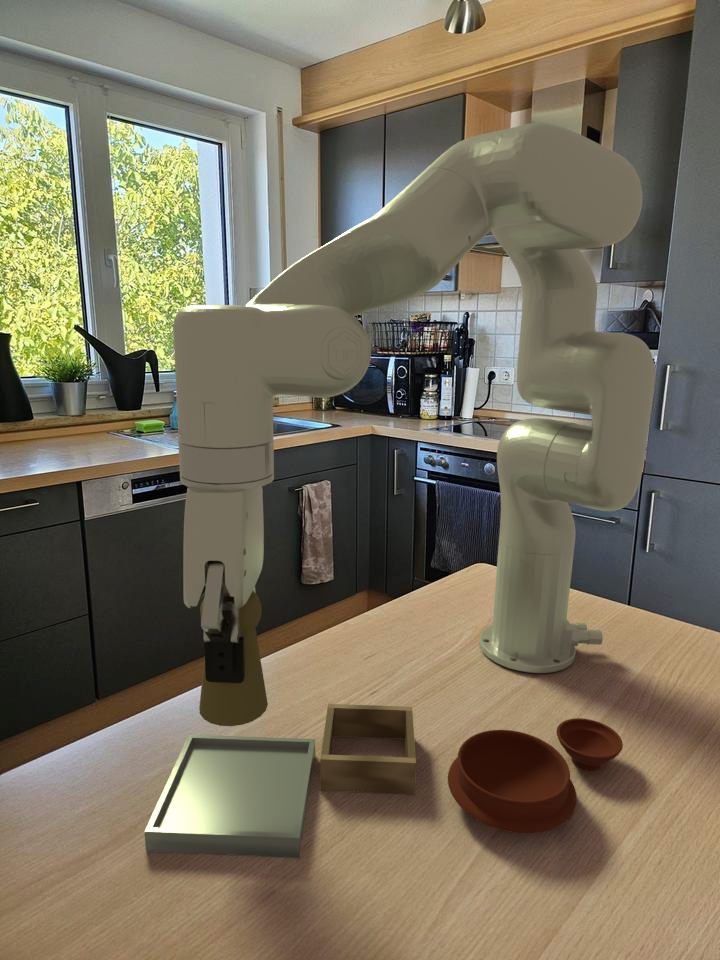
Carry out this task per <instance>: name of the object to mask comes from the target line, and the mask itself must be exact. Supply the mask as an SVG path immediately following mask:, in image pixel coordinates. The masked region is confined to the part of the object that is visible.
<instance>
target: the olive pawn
mask: <svg viewBox="0 0 720 960" xmlns="http://www.w3.org/2000/svg"><path fill="white" fill-rule="evenodd" d="M233 601H234V597H231V596H224V598H223V602H233ZM203 604H204V599H203V600H202V602H201V604H200V608H199V612H200V613H199V614H200V619H201V618H202V611H203ZM262 612H263V611H262V604H261V600H260V597H259V595H257V593H255V592H254V591H252V593H251V595H250V597H249V599H248V601H247V602H246V604H245V605H244V606H243V607H241V621H240V637H244V659H245V678H244V680H243V682H242V683H220V682H208V681H207V680H206V676H205V657H203V658H204V660H203V661H204V662H203V669H202V679H201V688H200V698H199V709H198V711H199V715H200V716H201V717H202V719H203V720H204V721H206V722H208V723H209V724H212V725H215V726H219V727H236V726H243V725H246V724H249V723H252V722H254V721H256V720H257V719H259V718H260V717H262V716H263V714H264V713H265V712H266V711H267V708H268V706H269V703H268V696H267V691H266V686H265V685H266V684H265V680H264V674H263V673H264V672H263V666H262V665H263V664H262V661H261V660H262V659H261V653H260V649H259V648H260V647H259V642H258V634H257V635H256V626H257V627H258V625H259V623H260V621H261V617H262ZM231 615H232V612H228V611H222V616H223V619H228V620H229V622H230V624H231Z"/></svg>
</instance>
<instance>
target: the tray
mask: <svg viewBox="0 0 720 960" xmlns="http://www.w3.org/2000/svg"><path fill="white" fill-rule="evenodd" d="M315 759H316V739H315V738H296V737H295V738H292V737H291V738H290V737H271V736H270V737H267V736H265V737H263V736H245V735H244V736H239V735H238V736H237V735H215V734H213V735H212V734H188V735H187V738H186V740H185V742H184V744H183V746H182V749H181V751H180V753H179V755H178V757H177V759H176V762H175V764H174V765H173V768H172V771H171V773H170V775H169V777H168V780H167V782H166V784H165V785H164V788H163V790H162V792H161V795H160V797H159V799H158V801H157V803H156V805H155V807H154V810H153V811H152V814H151V816H150V819H149V820H148V823H147V825H146V827H145V829H144V845H145V852H151V853H152V852H157V853H177V854H179V853H180V854H196V855H197V854H200V855H219V856H220V855H222V856H223V855H224V856H226V855H227V856H246V857H268V858H269V857H271V858H273V857H274V858H290V859H291V858H293V859H298V858H299V859H300V855H301V851H302V843H303V837H304V831H305V824H306V823H305V822H306V817H307V811H308V805H309V804H308V803H309V798H310V793H311V792H310V791H311V785H312V778H313V773H314V772H313V771H314V764H315Z"/></svg>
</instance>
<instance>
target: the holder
mask: <svg viewBox="0 0 720 960" xmlns="http://www.w3.org/2000/svg"><path fill="white" fill-rule="evenodd" d="M335 737H336V738H337V737H338V738H339V737H340V738H362V739H364V738H365V739H366V738H367V739H368V738H369V739H392V740H393V739H394V740H398V739H399V740H404V755H405V756H404V757H402V756H401V757H400V756H399V757H398V756H397V757H396V756H377V755H376V756H370V755H350V754H348V755H347V754H346V755H343V754H333V748H334V746H333V745H334V741H335V740H334V739H335ZM415 741H416V740H415V729H414V714H413V706H401V705H400V706H399V705H398V706H397V705H375V704H374V705H371V704H348V703H347V704H346V703H345V704H341V703H328V704H327V709H326V717H325V724H324V731H323V738H322V744H321V745H322V746H321V750H320V751H321V752H320V759H319V762H320V764H319V765H320V766H319V767H320V771H319V774H320V776H319V779H320V782H319V785H320V786H319V788H320V789H319V790H320V792H337V793H338V792H340V793H341V792H342V793H348V792H349V793H364V794H365V793H368V794H370V793H371V794H394V795H395V794H396V795H416V794H415V793H416V792H415V791H416V771H417V770H416V769H417V758H416V757H417V755H416V743H415Z"/></svg>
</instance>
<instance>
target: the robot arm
mask: <svg viewBox="0 0 720 960" xmlns="http://www.w3.org/2000/svg"><path fill="white" fill-rule="evenodd" d="M642 187H643V186H642V184H641V179H640V177H639V174H638V173H637V171H636V169H635V167H634V166H633V164H631V162H630V161H629V160H628V159H626V157H624V156H622V155H621V154H620V153H618V152H616V151H613V150H612V149H609V148H608V147H606V146H605V145H604V146H603V145H602V144H600V143H599V142H596V141H594V140H592V139H590V138H588V137H586V136H584V135H582V134H581V133H580V134H579V133H578V132H575V131H573V130H571V129H567V128H565V127H562V126H559V125H556V124H552V123H544V122H532V123H531V122H530V123H527V124H523V125H518V126H514V127H509V128H506V129H504V128H503V129H501V130H496V131H491V132H487V133H483V134H479V135H474V136H471V137H468V138H465V139H463V140H460V141H458V142H457V143H455V144H453V145H452V146H450V147H449V148H448V149H446V150H445V151H444V152H443V153H442V154H440V156H438V157H437V158H436V159H435V160H434V161H433V162H432V163H431V164H430V165H429V166H427V167H426V168H425V169H424V170H422V172H421V173H420V174H419V175H417V177H416V178H415V179H413V180H412V181H411V182H410V183H409V184H408V185H407V186H406V187H405V188H403V189H402V190H401V191H400V192H399V193H398V194H397V195H396V196H394V197H393V198H392V200H390V201H389V202H388V203H386V205H384V206H383V207H382V208H381V209H380V210H379V211H378V212H376V213H375V214H373V216H371V217H369V218H368V219H366V220H364V221H362V222H361V223H358V224H357V225H355V226H353V227H351V228H350V229H348V230H347V231H345V232H343V233H342V234H341V235H338V236H337V237H335V238H334V239H332V240H331V241H329V242H327V243H325V244H324V245H323V246H320V247H318V248H317V249H315V250H314V251H312V252H311V253H309V254H306V256H304V257H302V258H301V259H299V260H298V261H296V262H295V263H292V265H290V266H289V267H288V268H286V269H284V271H282V272H281V273H279V275H277V276H276V277H275V278H274V279H273V280H272V281H270V282H269V283H268V284H267V285H266V286H265V287H264V288H263V289H261V290H260V291H259V292H258V293H257V294H256V295H254V297H252V299H250V300H249V301H248V302H247V303H246V304H245V305H233V304H232V305H231V304H193V305H192V304H191V305H188V306H185V307H182V308H181V309H180V310H178V312H177V313H176V314H175V317H174V319H173V320H174V321H173V351H174V352H173V353H174V369H175V370H174V371H175V373H174V374H175V391H176V392H175V393H176V413H177V414H176V415H177V433H178V434H177V435H178V459H179V461H178V462H179V479H180V481H179V482H180V483H181V484H182V485H184V486H185V487H187V488H186V489H187V490H186V497H185V504H184V505H185V506H184V519H183V543H182V544H183V550H182V551H183V555H182V556H183V559H182V560H183V562H182V563H183V566H182V567H183V571H182V573H183V576H182V577H183V581H182V583H183V592H182V593H183V603H184V605H185V606H186V607H187V608H188V609H193V608H194V607H197V606H198V605H199V604H200V602H201V600H202V598H203V597H204V598H203V600H204V604H203V611H202V618H201V617H200V627H201V629H202V630H203V643H204V644H203V647H204V658H205V676H206V680H207V681H208V682H220V683H242V682H243V680H244V678H245V659H244V637H240V621H241V607H243V606H244V605H245V604H246V602H247V601H248V599H249V597H250V595H251V593H252V591H254V592H255V593H256V585H257V582H258V579H259V577H260V575H261V572H262V570H263V566H264V565H263V564H264V553H265V551H264V549H265V548H264V547H265V546H264V542H265V538H264V537H265V532H264V531H265V530H264V529H265V528H264V527H265V526H264V500H263V493H264V491H263V487H264V486H266V485H269V484H271V483H273V481H274V480H275V468H274V467H275V465H274V464H275V463H274V461H275V459H274V458H275V457H274V455H275V453H274V452H275V451H274V449H275V447H274V397H276V396H279V395H282V396H283V395H284V396H299V397H306V398H307V397H308V398H309V397H310V398H323V399H324V398H332V397H336V396H339V395H342V394H344V393H346V392H348V391H350V390H351V389H353V388H354V387H355V386H356V385H358V384H359V382H361V381H362V379H363V377H365V374H366V373H367V371H368V368H369V366H370V362H371V355H372V347H371V342H370V341H371V340H370V337H369V335H368V333H367V331H366V329H365V328H364V326H363V324H361V322H360V321H359V320H358V319H357V318H356V316H358V315H361V314H363V313H366V312H369V311H373V310H376V309H379V308H384V307H387V306H391V305H395V304H398V303H402V302H405V301H407V300H410V299H412V298H415V297H417V296H420V295H422V294H424V293H426V292H430V290H432V289H433V288H435V287H436V286H438V285H439V284H440V283H441V282H442V280H443V279H444V278H445V277H446V276H448V274H449V273H450V272H451V271H452V270H453V269H454V268H455V267H456V266H457V265H458V264H459V263H460V262H461V260H463V259H464V258H465V256H466V255H468V253H470V251H471V250H472V249H473V248H474V247H475V246H476V245H477V244H478V243H480V242H481V240H483V238H484V237H485V236H486V235H487V234H489V233H490V232H491V234H492V236H493V237H494V239H495V240H496V241H497V243H498V244H499V246H500V247H502V249H503V251H504V252H505V253H506V254H507V256H508V258H509V259H510V260H511V262H512V264H513V266H514V269H516V272H517V274H518V277H519V281H520V285H521V286H520V287H521V291H522V292H521V293H522V299H521V301H522V302H521V303H522V305H521V319H520V329H519V330H520V332H519V339H518V340H519V342H518V353H517V364H516V386H517V391H518V394H519V396H520V397H521V398H522V400H523V401H525V402H526V403H527V404H529V405H532V406H535V407H538V408H543V409H547V410H555V411H560V412H568V413H575V414H579V415H580V414H582V415H587V416H591V425H584V424H580V423H579V424H578V423H576V422H569V421H564V420H563V421H562V420H556V419H550V418H549V419H548V418H544V417H543V418H541V417H535V418H526V419H524V418H523V419H521V420H518V421H516V422H514V423H512V424H511V425H510V426H508V427H507V428H506V430H505V431H504V432H503V433H502V435H501V437H500V440H499V442H498V445H497V451H496V466H497V474H498V482H499V492H500V521H499V534H498V535H499V536H498V548H497V560H496V561H497V562H496V574H495V587H494V589H495V590H494V602H493V616H492V624H491V625H489V626H488V627H485V629H483V631H482V632H481V634H480V637H479V646H480V647H479V648H480V649H481V651H482V653H483V654H485V656H486V657H487V658H488V659H490V660H491V661H493V662H494V663H496V664H498V665H499V666H502V667H504V668H508V669H511V670H514V671H518V672H523V673H529V674H530V673H532V674H548V673H556V672H559V671H563V670H564V669H566V668H568V667H570V666H571V665H573V663H574V661H575V659H576V652H577V651H576V647H578V646H579V644H583V645H584V644H586V645H593V646H594V645H596V646H597V645H600V646H601V645H602V643H603V632H602V630H600V629H588V626H587V623H586V622H585V623H584V622H569V621H568V619H567V618H568V609H569V601H570V600H569V599H570V592H571V591H570V589H571V581H572V572H573V561H574V553H575V544H576V534H577V533H576V532H577V531H576V524H575V520H574V517H573V512H572V510H571V507H570V505H569V504H572V505H576V506H580V507H583V508H588V509H592V510H595V511H596V510H597V511H602V512H615V511H619V510H622V509H623V508H625V507H626V506H628V505H629V503H631V502H632V501H633V499H634V497H635V496H636V494H637V491H638V489H639V485H640V483H641V480H642V479H641V478H642V476H643V475H642V474H643V470H644V464H645V456H646V451H647V450H646V449H647V443H648V436H649V435H648V434H649V429H650V427H649V426H650V421H651V415H652V414H651V413H652V408H653V407H652V406H653V399H654V394H655V393H654V392H655V382H656V377H655V376H656V375H655V374H656V371H655V370H656V369H655V362H654V358H653V354H652V352H651V349H650V348H649V346H648V345H647V344H646V342H644V341H643V340H642V339H641V338H640V337H638V336H635V335H633V334H630V333H625V332H614V331H613V332H610V331H596V315H597V314H596V313H597V302H598V287H597V286H598V285H597V281H596V276H595V274H594V271H593V269H592V267H591V266H590V263H589V262H588V260H587V258H586V257H585V255H584V253H582V251H581V250H580V249H588V248H589V249H590V248H592V249H595V248H605V247H609V246H612V245H615V244H617V243H619V242H621V241H623V240H624V239H625V238H626V237H628V235H629V234H630V233H631V232H632V231H633V230H634V227H635V226H636V225H637V222H638V221H639V219H640V215H641V211H642V207H643V200H644V199H643V188H642ZM256 594H257V593H256ZM224 596H231V597H234V601H233V602H223V598H224ZM222 611H228V612H232V615H231V624H230V622H229V620H228V619H223V616H222ZM256 635H257V636H258V625H257V626H256Z"/></svg>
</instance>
